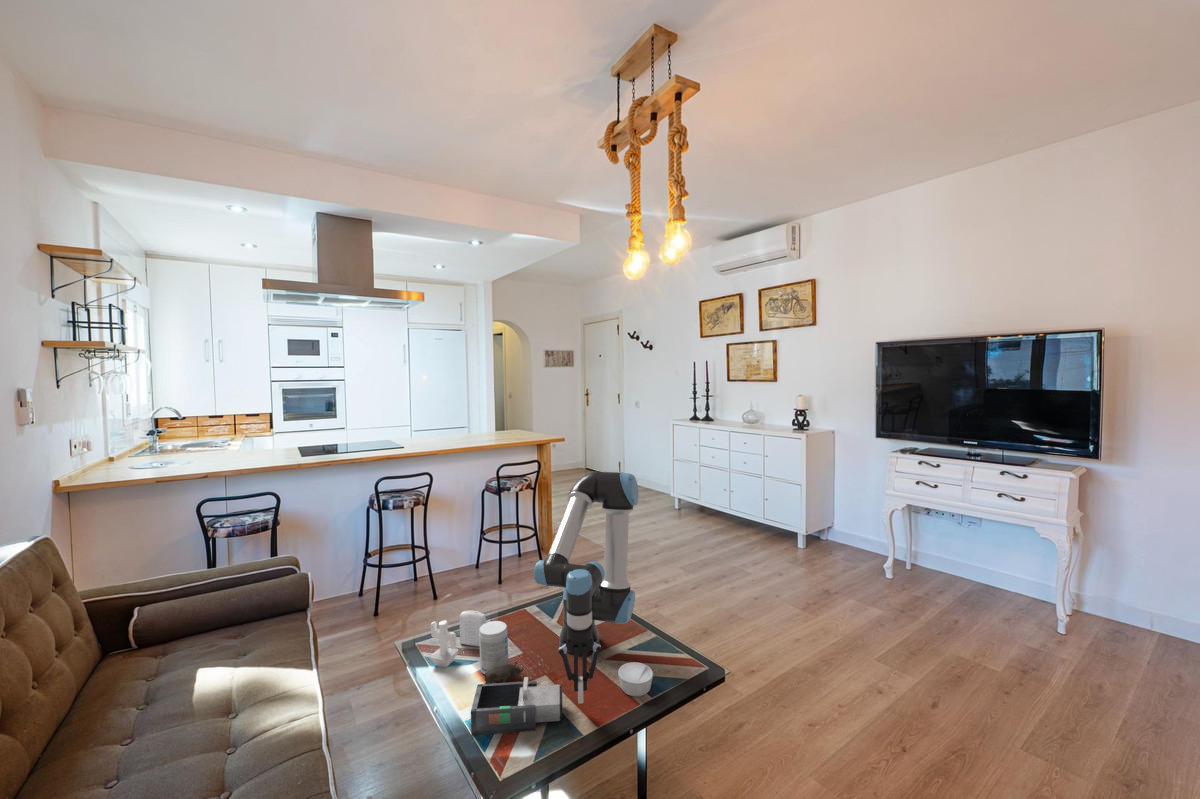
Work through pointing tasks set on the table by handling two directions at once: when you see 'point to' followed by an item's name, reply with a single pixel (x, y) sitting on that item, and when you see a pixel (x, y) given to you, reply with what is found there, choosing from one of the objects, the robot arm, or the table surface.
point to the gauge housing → (501, 709)
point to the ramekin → (635, 678)
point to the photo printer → (471, 627)
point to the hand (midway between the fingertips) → (580, 700)
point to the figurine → (443, 645)
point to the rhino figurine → (502, 673)
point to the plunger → (543, 701)
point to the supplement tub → (493, 645)
